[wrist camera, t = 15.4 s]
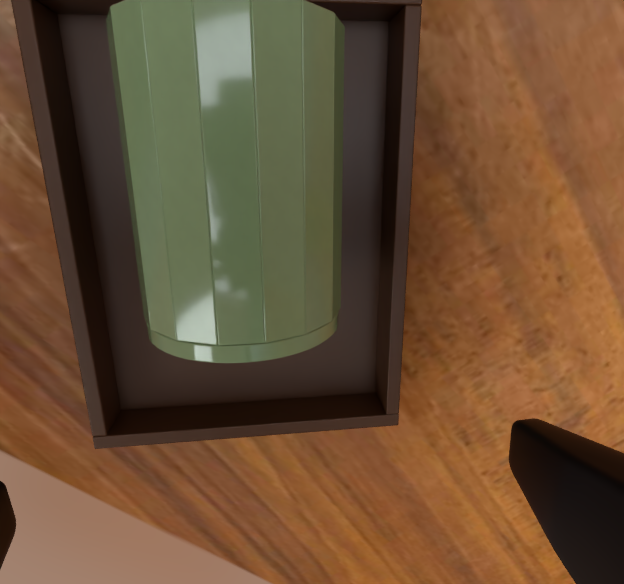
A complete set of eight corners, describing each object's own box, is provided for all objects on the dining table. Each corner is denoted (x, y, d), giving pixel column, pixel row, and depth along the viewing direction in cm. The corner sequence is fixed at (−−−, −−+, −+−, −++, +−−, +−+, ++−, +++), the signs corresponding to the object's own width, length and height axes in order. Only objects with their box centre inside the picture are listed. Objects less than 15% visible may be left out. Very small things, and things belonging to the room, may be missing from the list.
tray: (383, 396, 22) (398, 425, 20) (113, 416, 21) (94, 449, 18) (400, 8, 17) (423, -16, 15) (43, -1, 16) (4, -29, 13)
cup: (377, 335, 15) (390, 14, 12) (171, 385, 12) (123, -35, 9) (288, 286, 20) (283, 60, 18) (134, 310, 17) (97, 40, 14)
